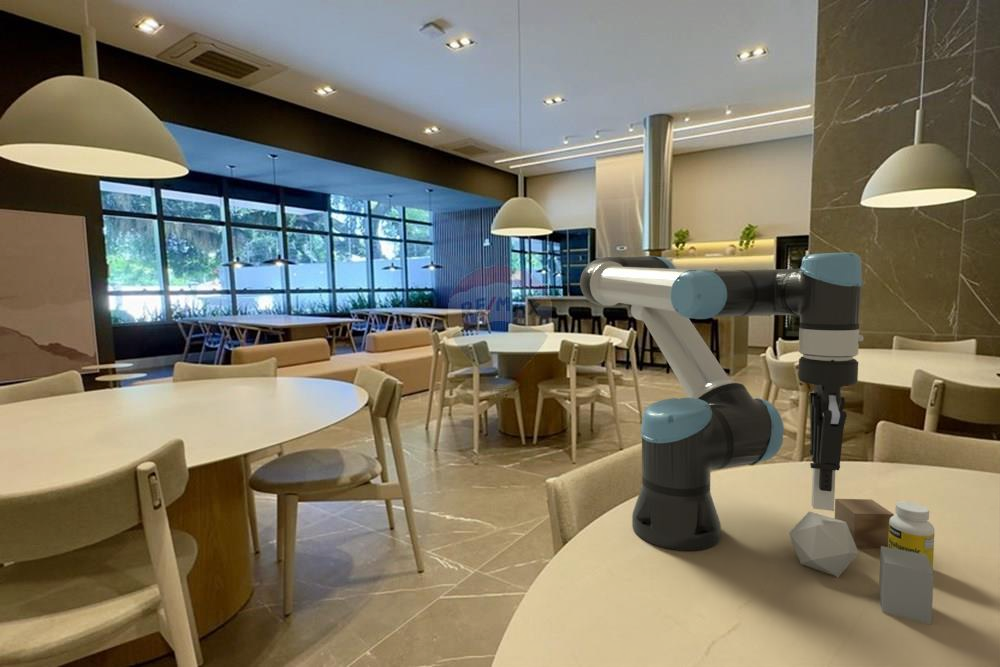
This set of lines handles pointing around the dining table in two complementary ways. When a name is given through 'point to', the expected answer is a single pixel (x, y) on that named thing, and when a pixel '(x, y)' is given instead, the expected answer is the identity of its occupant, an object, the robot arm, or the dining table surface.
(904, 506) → the supplement bottle
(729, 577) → the dining table surface
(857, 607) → the dining table surface
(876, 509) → the walnut block
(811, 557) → the die
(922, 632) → the dining table surface
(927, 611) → the grey block
